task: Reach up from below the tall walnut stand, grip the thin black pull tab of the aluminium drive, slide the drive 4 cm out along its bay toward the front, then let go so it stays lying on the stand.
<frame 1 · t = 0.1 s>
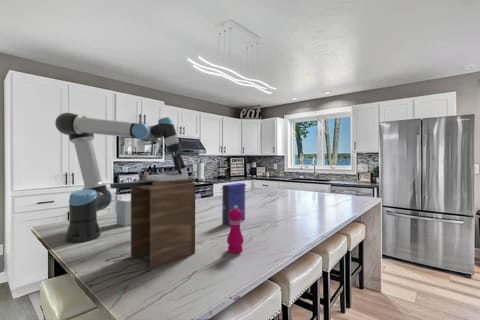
hand: (185, 179, 141), 28 cm above the kitchen island, tool tilted 20°, fingers open, 13 cm apart
pepper mill: (235, 250, 109), on the kitchen island
drive: (167, 183, 105), point 30 cm above the kitchen island, touching stand
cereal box: (234, 222, 156), on the kitchen island
stand: (163, 254, 104), on the kitchen island
supplement box: (127, 224, 150), on the kitchen island
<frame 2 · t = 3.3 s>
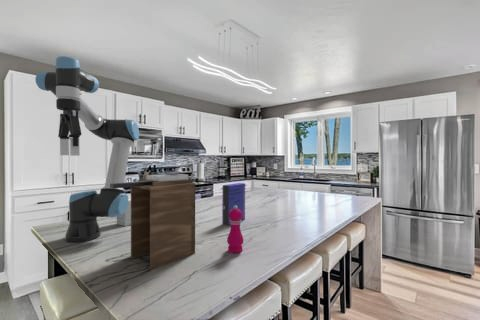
hand: (69, 155, 94), 42 cm above the kitchen island, tool pointing down, fingers open, 13 cm apart
nothing on the kitchen island moved.
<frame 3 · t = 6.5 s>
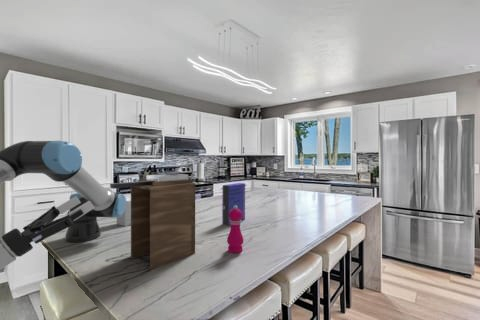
hand: (85, 201, 82), 26 cm above the kitchen island, tool pointing upward, fingers open, 13 cm apart
nothing on the kitchen island moved.
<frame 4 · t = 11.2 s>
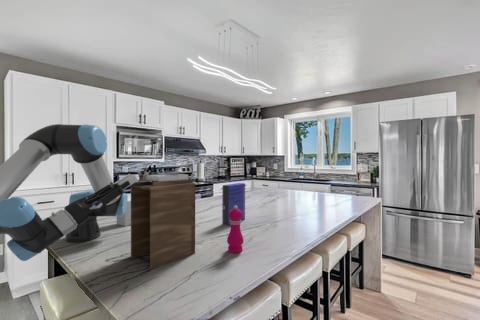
hand: (133, 177, 94), 33 cm above the kitchen island, tool pointing upward, fingers closed on drive, 3 cm apart
drive: (167, 183, 105), point 30 cm above the kitchen island, touching gripper, stand
everything else where it was.
when the fingers open (34 cm above the kitchen island, at t = 12.4 s): drive stays where it is, resting on stand.
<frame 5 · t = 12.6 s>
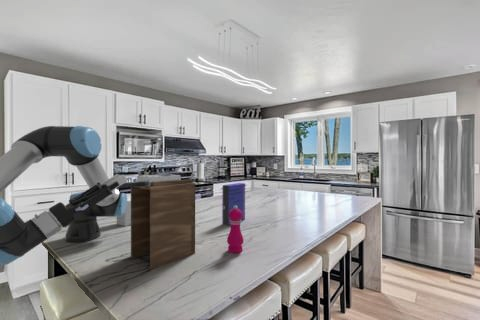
hand: (122, 177, 91), 34 cm above the kitchen island, tool pointing upward, fingers open, 4 cm apart
drive: (159, 183, 102), point 30 cm above the kitchen island, touching stand
everything else where it was.
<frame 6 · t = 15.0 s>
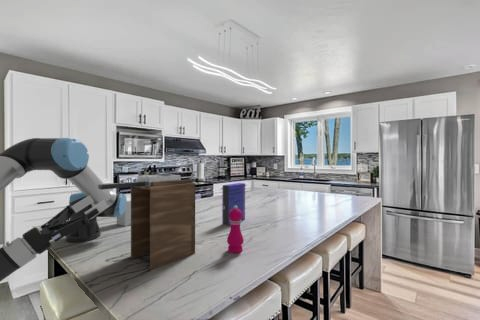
hand: (98, 200, 85), 26 cm above the kitchen island, tool pointing upward, fingers open, 13 cm apart
nothing on the kitchen island moved.
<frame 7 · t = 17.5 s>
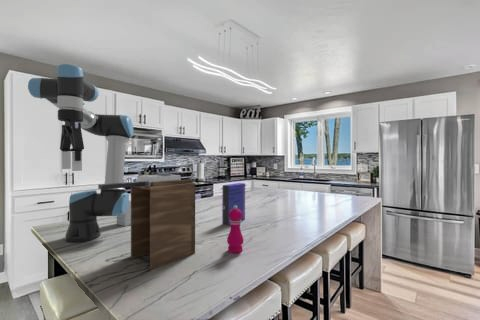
hand: (71, 169, 88), 36 cm above the kitchen island, tool pointing down, fingers open, 13 cm apart
nothing on the kitchen island moved.
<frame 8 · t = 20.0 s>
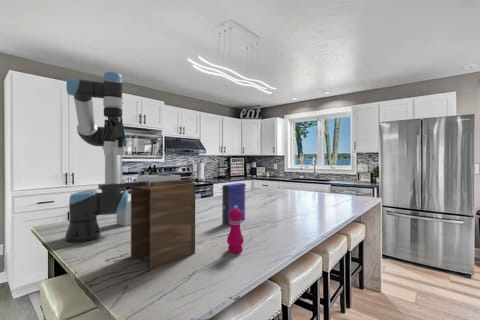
hand: (113, 155, 111), 42 cm above the kitchen island, tool pointing down, fingers open, 13 cm apart
nothing on the kitchen island moved.
at the end: drive 0.3 cm from the target spot, point 30.0 cm above the kitchen island; drive tilted 0°; the gripper is holding nothing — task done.
